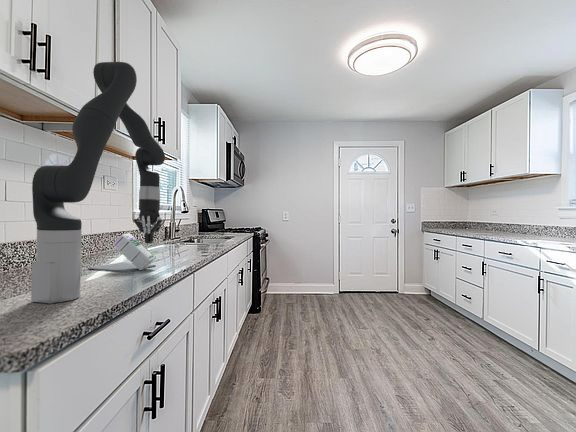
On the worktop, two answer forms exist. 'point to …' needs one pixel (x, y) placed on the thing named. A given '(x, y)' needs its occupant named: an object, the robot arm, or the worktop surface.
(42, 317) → the worktop surface
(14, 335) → the worktop surface
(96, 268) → the mat
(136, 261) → the syrup box
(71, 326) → the worktop surface
